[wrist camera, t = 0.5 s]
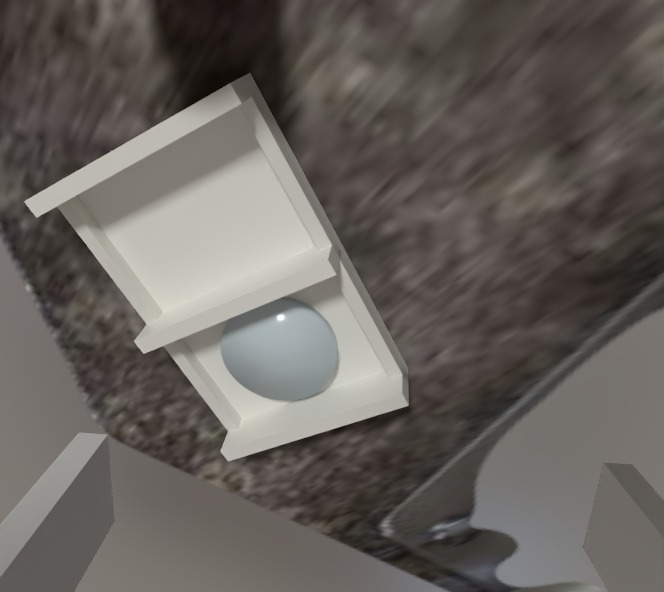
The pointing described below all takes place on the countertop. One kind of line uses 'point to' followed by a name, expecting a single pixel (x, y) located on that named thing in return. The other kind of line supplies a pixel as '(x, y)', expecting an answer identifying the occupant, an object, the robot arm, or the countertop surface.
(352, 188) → the countertop surface
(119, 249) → the rack
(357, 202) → the countertop surface
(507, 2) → the countertop surface
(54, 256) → the countertop surface
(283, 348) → the saucer
